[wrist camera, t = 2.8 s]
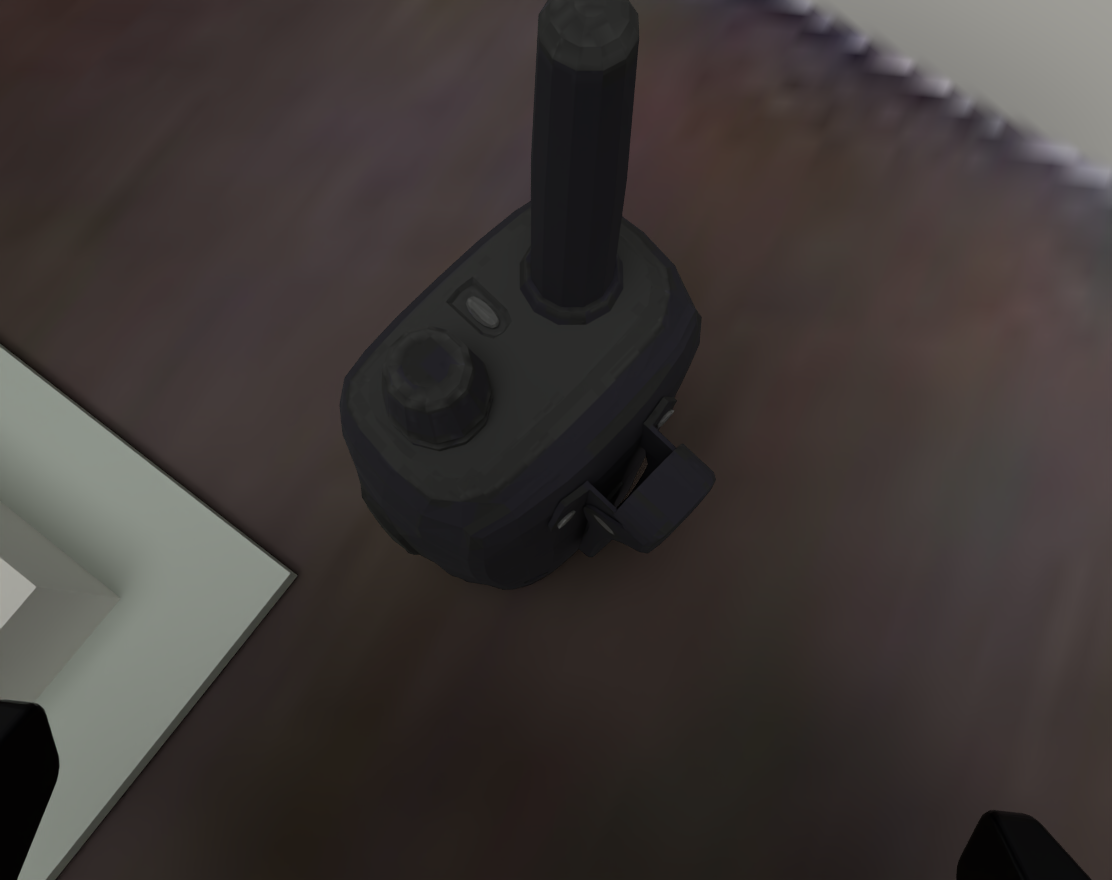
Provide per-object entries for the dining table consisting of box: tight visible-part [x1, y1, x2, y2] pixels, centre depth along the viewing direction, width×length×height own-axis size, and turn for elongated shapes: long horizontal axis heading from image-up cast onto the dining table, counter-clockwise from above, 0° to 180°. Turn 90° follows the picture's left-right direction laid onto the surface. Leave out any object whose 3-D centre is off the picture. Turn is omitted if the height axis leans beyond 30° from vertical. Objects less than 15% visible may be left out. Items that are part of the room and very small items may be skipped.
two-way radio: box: [340, 0, 716, 590], centre depth 14 cm, size 6×4×15 cm
